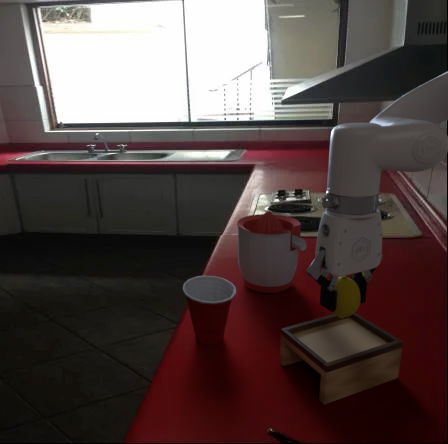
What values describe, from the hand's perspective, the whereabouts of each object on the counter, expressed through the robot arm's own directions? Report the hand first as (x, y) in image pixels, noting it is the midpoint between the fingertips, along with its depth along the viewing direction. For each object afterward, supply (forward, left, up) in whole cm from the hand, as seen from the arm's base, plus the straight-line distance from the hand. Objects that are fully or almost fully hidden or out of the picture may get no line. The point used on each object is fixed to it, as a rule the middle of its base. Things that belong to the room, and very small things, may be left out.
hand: (342, 303), depth 72 cm
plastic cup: (+16, -19, -14) cm, 29 cm away
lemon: (0, 0, -3) cm, 3 cm away
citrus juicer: (-9, -34, -14) cm, 38 cm away
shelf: (0, 0, -14) cm, 14 cm away
